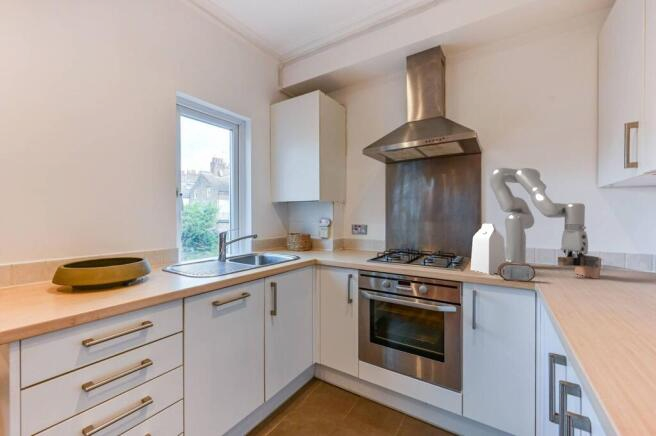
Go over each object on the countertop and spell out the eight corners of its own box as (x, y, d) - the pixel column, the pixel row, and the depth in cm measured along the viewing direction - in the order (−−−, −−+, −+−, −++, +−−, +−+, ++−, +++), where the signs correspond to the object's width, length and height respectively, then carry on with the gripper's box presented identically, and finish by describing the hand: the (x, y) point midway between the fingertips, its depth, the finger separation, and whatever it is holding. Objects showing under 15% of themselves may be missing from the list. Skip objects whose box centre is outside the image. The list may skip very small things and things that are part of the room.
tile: (594, 278, 137) (597, 258, 137) (574, 273, 147) (576, 254, 147) (599, 278, 137) (601, 258, 137) (578, 274, 147) (581, 255, 147)
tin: (533, 280, 133) (533, 263, 133) (536, 282, 130) (536, 264, 130) (497, 278, 137) (497, 261, 137) (499, 280, 134) (499, 262, 134)
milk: (505, 273, 149) (506, 224, 149) (488, 274, 146) (489, 224, 145) (486, 268, 161) (487, 223, 160) (470, 269, 157) (471, 223, 157)
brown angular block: (572, 267, 134) (572, 257, 134) (549, 263, 146) (550, 253, 146) (598, 267, 136) (598, 257, 136) (574, 262, 148) (574, 253, 148)
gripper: (598, 229, 133) (597, 267, 133) (565, 227, 149) (564, 261, 150) (583, 229, 132) (582, 268, 133) (552, 227, 148) (551, 262, 149)
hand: (573, 264), depth 141 cm, fingers closed on brown angular block, 3 cm apart
